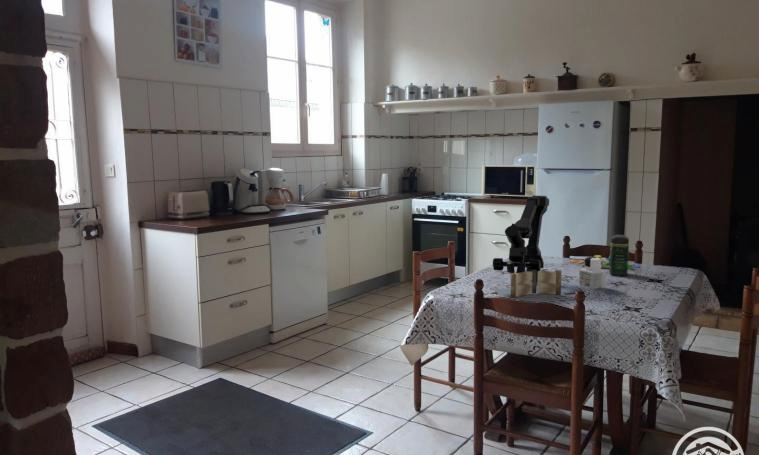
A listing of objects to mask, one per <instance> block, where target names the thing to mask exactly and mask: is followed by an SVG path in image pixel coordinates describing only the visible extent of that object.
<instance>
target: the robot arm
mask: <svg viewBox="0 0 759 455" xmlns="http://www.w3.org/2000/svg"><path fill="white" fill-rule="evenodd" d="M549 206H550V199H549V198H548V196H547V195H532V196H529V197H527V198H526V203H525V206H524V209H523V212H522V214H521V216H520V219H518V220H517V221H516V222H515V223H511V225H509V226H507V227H506V228H505V230H504V234H505V236H506V239H507V241H508V242H509V244H510V247H509V251H508V252H509V254H508V260H506V261H504V258H503V257H494V258H493V259H492V268H493V270H494V271H502V270H504V267H505V268H506V271H507V273H509V274H510V275H511V273H521V272H527V271H531V269H536V270H537V283H538V271H541V269H544V266H545V265H544V264H545V262H544V259H543V257H542V252H541V250H540V247H539V245H540V244H539V243H540V238H541V229H542V223H543V216H544V214H545V213H546V212H547V211H548V207H549ZM525 239H526V240H527V241H528V243H527V244H526V241H525ZM515 268H516V271H515Z"/></svg>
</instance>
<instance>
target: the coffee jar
mask: <svg viewBox="0 0 759 455" xmlns="http://www.w3.org/2000/svg"><path fill="white" fill-rule="evenodd" d="M629 244H630V239H629V237H628V236H626V235H625V234H614V235H612V236H611V237H610V247H609V248H610V250H609V257H610V269H609V275H612V276H617V277H622V276H627V275H628V271H629V269H628V263H629V252H630V251H629V248H630V247H629Z"/></svg>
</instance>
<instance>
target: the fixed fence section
mask: <svg viewBox="0 0 759 455" xmlns="http://www.w3.org/2000/svg"><path fill="white" fill-rule="evenodd" d="M562 272H563V270H562V269H556V270H554V271H553V270H540V271H538V282H537V293H545V294H561V292H562Z"/></svg>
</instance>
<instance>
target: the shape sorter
mask: <svg viewBox="0 0 759 455" xmlns="http://www.w3.org/2000/svg"><path fill="white" fill-rule="evenodd" d="M593 257H598V258H600V259H601V269H603V270H605V269H608V270H610V256H609V257H608V259H602V255H600V254H599V255H598V254H596V255H594V256H593ZM568 262H569V263H571V264H581V267H584V268H585V260H579V259H573V260H569V261H568ZM582 263H583V264H582ZM633 268H640V266H639V264H636V263H635V264H633V263H629V262H628V271H630V270H632V269H633Z"/></svg>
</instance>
